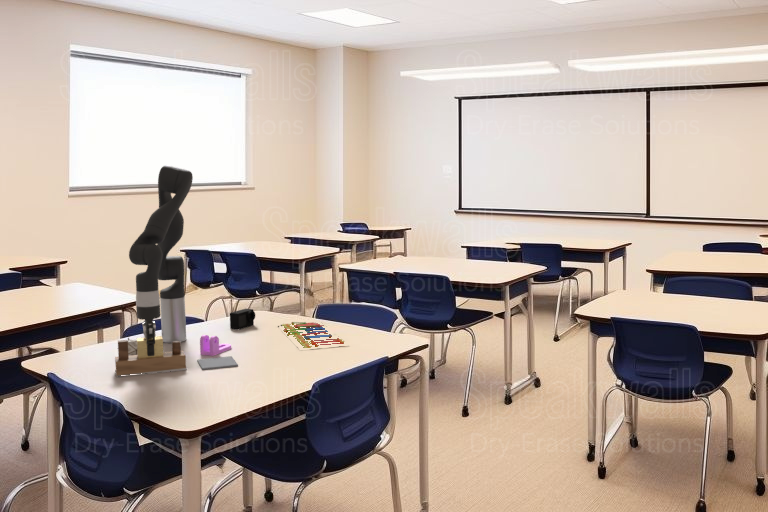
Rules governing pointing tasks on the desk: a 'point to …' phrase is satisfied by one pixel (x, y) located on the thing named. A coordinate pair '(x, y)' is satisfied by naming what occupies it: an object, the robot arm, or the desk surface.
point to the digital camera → (242, 319)
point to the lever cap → (143, 347)
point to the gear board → (308, 329)
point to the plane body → (149, 361)
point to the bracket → (212, 346)
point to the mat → (217, 363)
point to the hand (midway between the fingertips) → (150, 353)
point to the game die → (132, 347)
